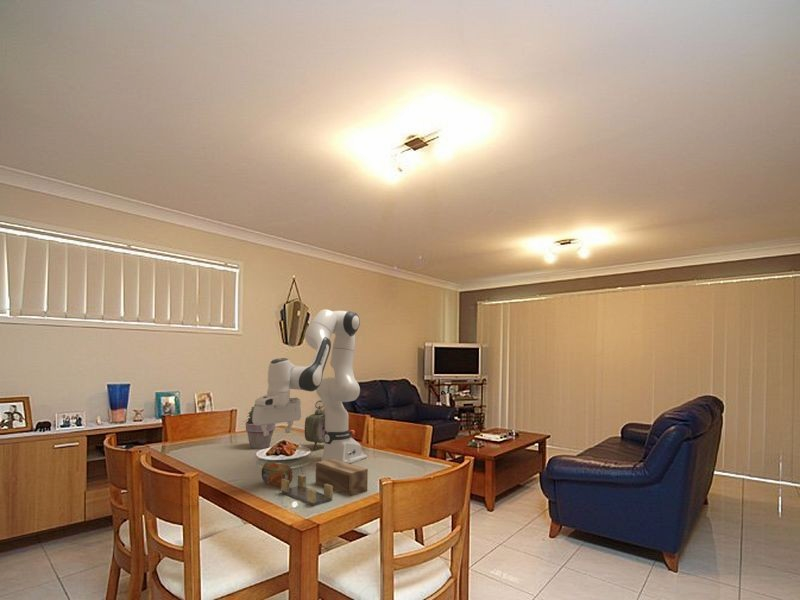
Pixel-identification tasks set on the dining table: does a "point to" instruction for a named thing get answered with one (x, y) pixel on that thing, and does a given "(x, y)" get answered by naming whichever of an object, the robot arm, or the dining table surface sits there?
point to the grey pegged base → (307, 492)
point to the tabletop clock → (315, 426)
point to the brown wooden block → (342, 476)
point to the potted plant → (258, 433)
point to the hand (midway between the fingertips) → (277, 434)
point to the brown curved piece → (276, 473)
